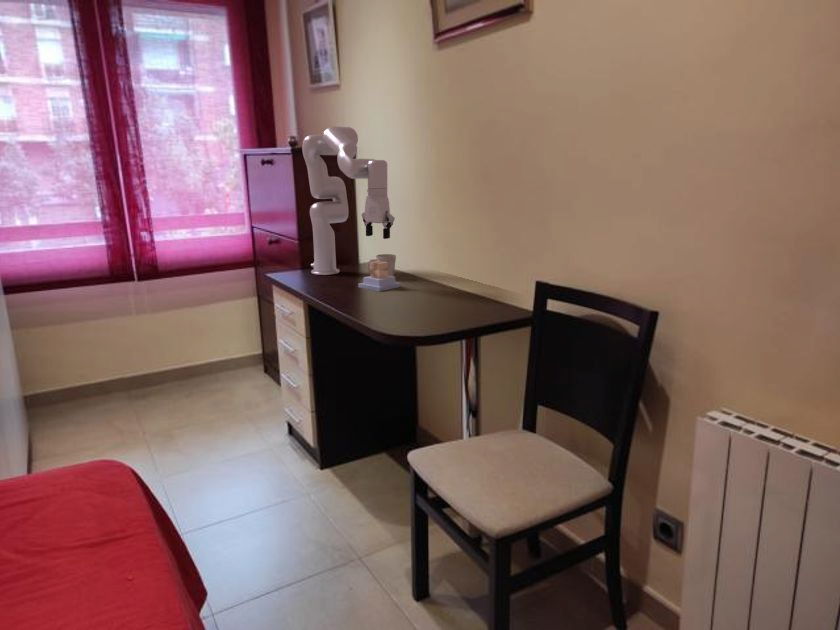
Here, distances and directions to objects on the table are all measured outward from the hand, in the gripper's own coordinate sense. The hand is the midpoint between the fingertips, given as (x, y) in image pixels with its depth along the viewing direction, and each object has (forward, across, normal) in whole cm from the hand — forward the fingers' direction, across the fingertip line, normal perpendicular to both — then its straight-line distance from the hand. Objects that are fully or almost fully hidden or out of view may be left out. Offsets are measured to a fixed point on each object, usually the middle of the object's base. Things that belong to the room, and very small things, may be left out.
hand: (377, 237), depth 232 cm
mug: (+20, -11, +13) cm, 27 cm away
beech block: (+16, +1, 0) cm, 16 cm away
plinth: (+20, +1, 0) cm, 20 cm away
